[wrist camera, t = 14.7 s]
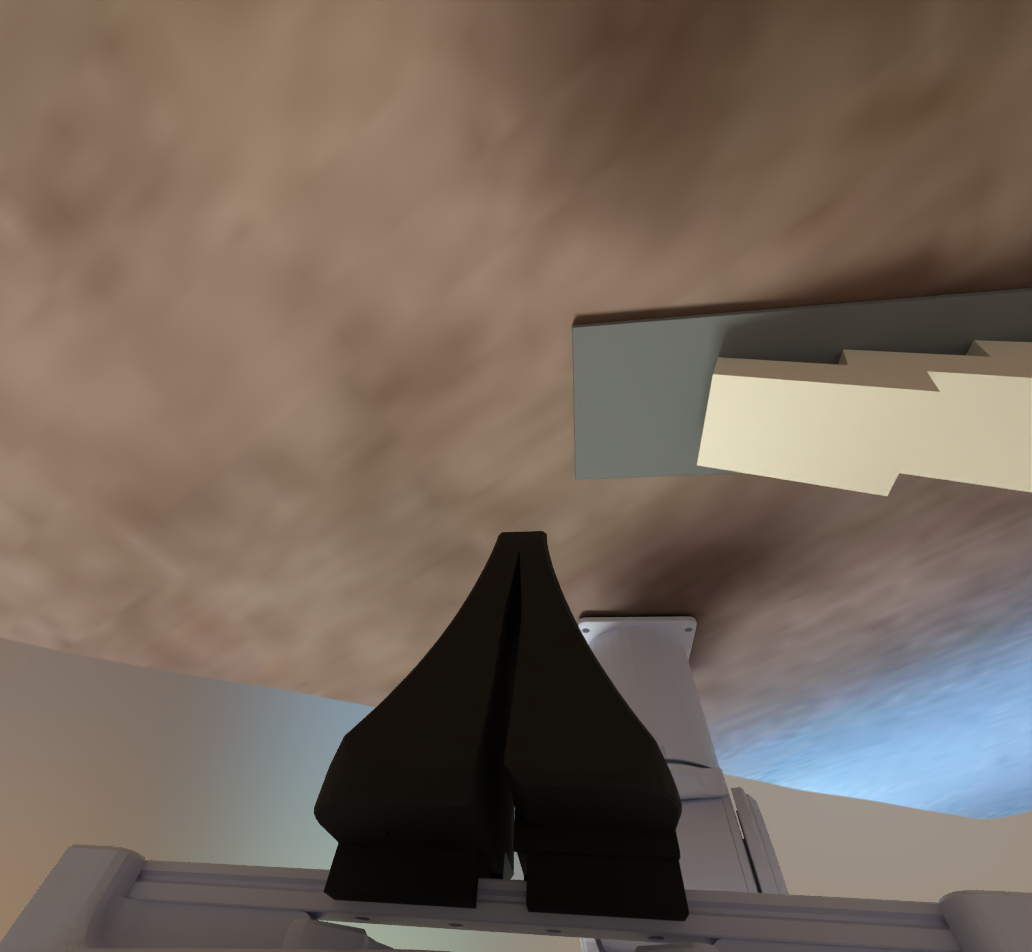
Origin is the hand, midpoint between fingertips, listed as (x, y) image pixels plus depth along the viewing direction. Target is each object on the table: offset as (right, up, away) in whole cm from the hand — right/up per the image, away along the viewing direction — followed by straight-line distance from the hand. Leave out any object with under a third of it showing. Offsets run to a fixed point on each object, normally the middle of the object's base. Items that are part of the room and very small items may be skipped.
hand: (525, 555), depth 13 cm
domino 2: (+13, +5, +6) cm, 16 cm away
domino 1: (+8, +5, +6) cm, 12 cm away
